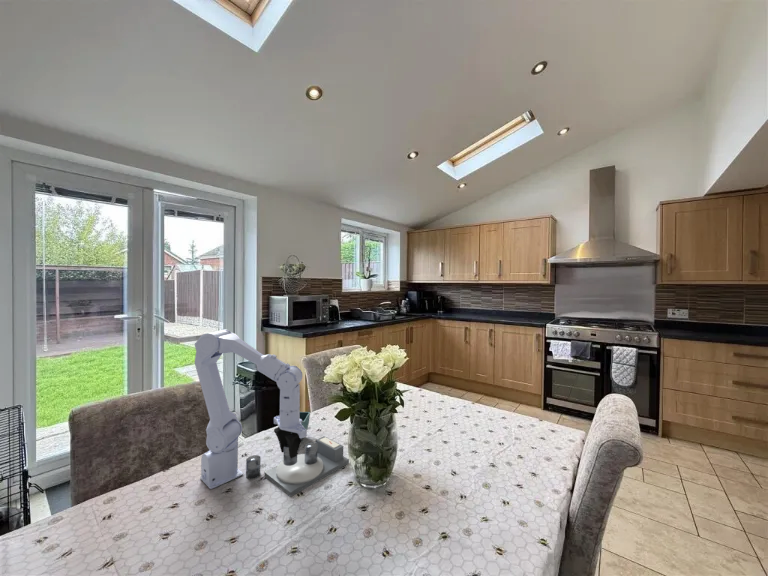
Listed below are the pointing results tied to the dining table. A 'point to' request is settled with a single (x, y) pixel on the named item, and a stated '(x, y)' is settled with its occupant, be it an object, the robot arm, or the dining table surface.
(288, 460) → the cylinder
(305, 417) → the flower pot
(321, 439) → the scale
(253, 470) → the cylinder
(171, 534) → the dining table surface
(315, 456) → the cylinder
